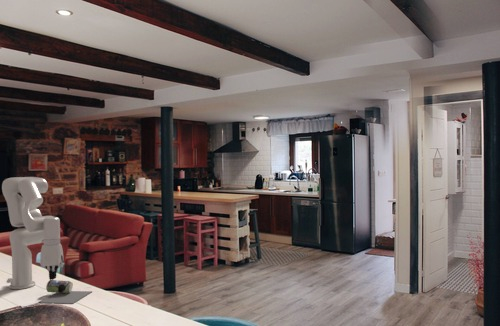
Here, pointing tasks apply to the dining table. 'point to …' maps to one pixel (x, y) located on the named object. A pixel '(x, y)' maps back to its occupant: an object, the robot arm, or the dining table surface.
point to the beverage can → (59, 286)
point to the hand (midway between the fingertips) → (52, 278)
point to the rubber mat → (65, 297)
